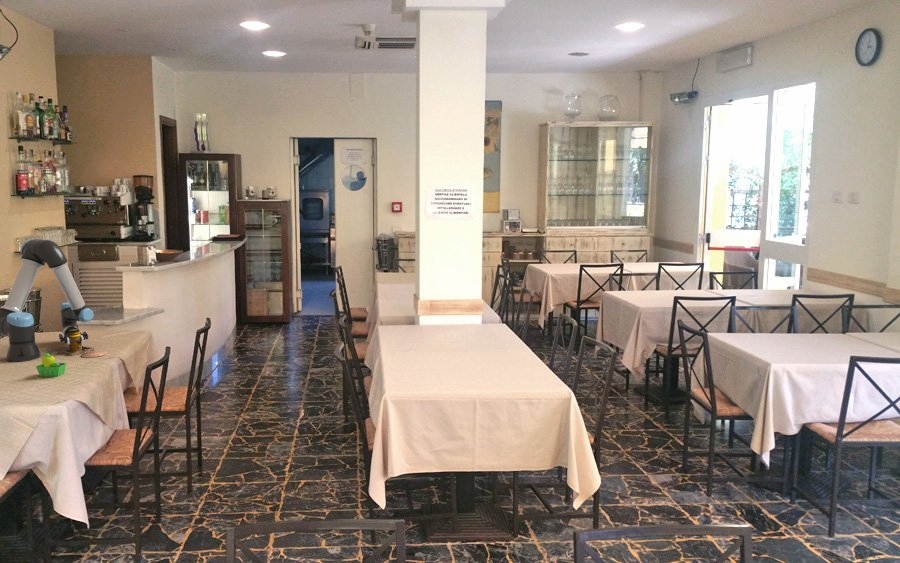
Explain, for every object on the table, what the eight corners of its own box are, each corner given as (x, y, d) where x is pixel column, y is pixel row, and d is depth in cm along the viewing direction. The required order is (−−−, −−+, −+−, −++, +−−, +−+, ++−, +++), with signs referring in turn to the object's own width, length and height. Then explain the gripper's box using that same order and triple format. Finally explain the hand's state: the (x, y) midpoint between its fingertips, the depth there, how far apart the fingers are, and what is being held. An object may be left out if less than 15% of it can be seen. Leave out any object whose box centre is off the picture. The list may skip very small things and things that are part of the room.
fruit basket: (68, 373, 356) (66, 350, 355) (57, 378, 348) (55, 354, 346) (45, 373, 357) (43, 349, 356) (34, 378, 348) (31, 354, 347)
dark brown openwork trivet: (71, 356, 391) (71, 353, 390) (57, 353, 396) (56, 350, 396) (94, 350, 402) (94, 347, 402) (79, 348, 408) (79, 345, 408)
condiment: (84, 352, 399) (82, 329, 397) (67, 354, 393) (65, 332, 392) (80, 349, 404) (78, 327, 403) (63, 352, 399) (61, 330, 397)
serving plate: (91, 358, 384) (91, 357, 384) (76, 356, 390) (76, 354, 390) (111, 353, 395) (111, 352, 394) (96, 351, 400) (96, 350, 400)
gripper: (90, 337, 419) (96, 345, 399) (52, 342, 409) (56, 350, 389) (89, 324, 418) (95, 331, 398) (51, 328, 408) (54, 335, 388)
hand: (75, 340), depth 394 cm, fingers closed on condiment, 6 cm apart
